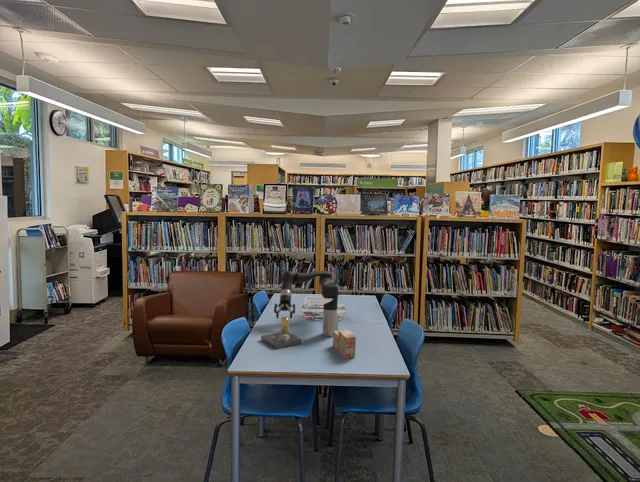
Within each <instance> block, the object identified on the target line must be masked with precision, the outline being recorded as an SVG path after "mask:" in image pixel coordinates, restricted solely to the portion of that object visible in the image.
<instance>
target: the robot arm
mask: <svg viewBox="0 0 640 482" xmlns="http://www.w3.org/2000/svg"><path fill="white" fill-rule="evenodd" d="M316 277H319V280H318V281H319V285H320V288H321V289H320V290H321V296H322V297H323V298H324V299H327V300H328V299H331V300H330V301H328V302H326V303H323V307H322V308H323V310H322V313H323V314H322V336H325V337H333V331H339V320H338V303H339V302H338V300H339V299H338V298H339V285H338V284H334V281H333V273H332V272H331V271H328V270H327V271H326V270H320V271H312V272H296V273H294V274H293V271H291V270H287V271H285V272H284V273H283V275H282V276H281V278H280V281H281V283H282V284H281V289H280V296H279V297H280V298H279V304H278V303H274V308H273V312H274V314H276V315H275V317H276V319H279V315H280V313H281V312H287V311H288V313H289V320H291V319H292V318H293V314H296V304H295V303H293V304H292V303H291V301H292V285H293V284H295V283H307V282H310V281H311V280H313V279H314V278H316ZM277 308H278V309H277ZM291 308H292V309H293V310H292V309H291Z"/></svg>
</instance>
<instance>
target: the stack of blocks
mask: <svg viewBox="0 0 640 482" xmlns="http://www.w3.org/2000/svg"><path fill="white" fill-rule="evenodd" d="M356 341H357V336H356V335H355V334H354V333H353V332H351V331H350V330H348V329H345V330H338V331H333V336H332V347H334V349H336V351H337V352H338V353H339V354H340V355H341V356H342V357H343V358H344V359H353V358H356V346H357V344H356Z"/></svg>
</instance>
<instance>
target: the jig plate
mask: <svg viewBox="0 0 640 482" xmlns="http://www.w3.org/2000/svg"><path fill="white" fill-rule="evenodd" d="M260 341H261V342H263V343H265V344H266V345H268V346H269V347H271V348H273V349H275V350H278V349H282V348H283V349H284V348H288V347H293V346H298V345H302V341H303V340H302V338H300V337H298V336H296V335H294V334H292V333H290V332H287V331H285V332H281V331H280V332H274V333H269V334H263V335H260Z"/></svg>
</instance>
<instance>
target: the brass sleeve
mask: <svg viewBox="0 0 640 482" xmlns="http://www.w3.org/2000/svg"><path fill="white" fill-rule="evenodd" d="M289 321H290V317H287V316H286V317H285V316H283V317H281V319H280V332H285V331H287V332H289V331H290V330H289V329H290V328H289V327H290V326H289V325H290V322H289ZM289 333H290V332H289Z"/></svg>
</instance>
